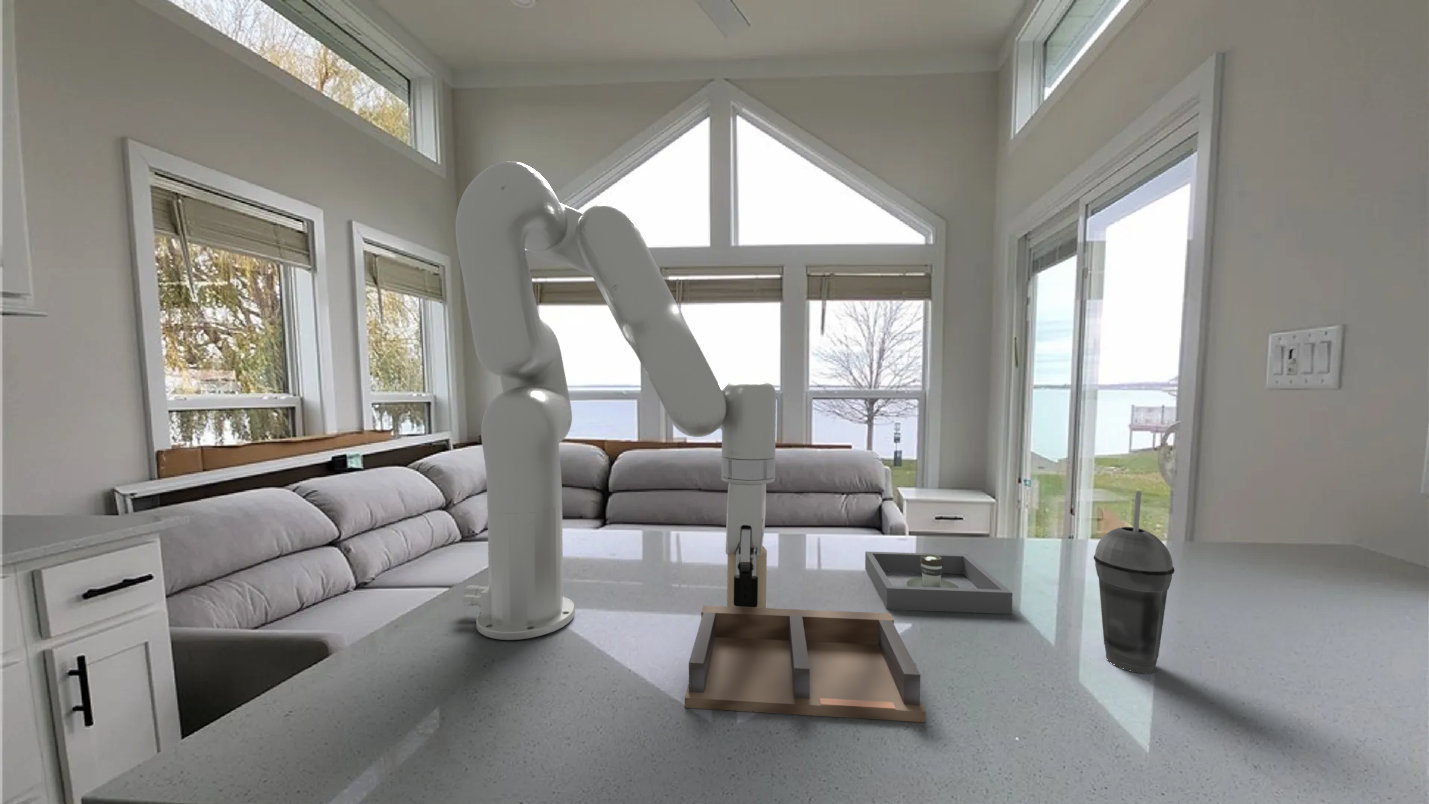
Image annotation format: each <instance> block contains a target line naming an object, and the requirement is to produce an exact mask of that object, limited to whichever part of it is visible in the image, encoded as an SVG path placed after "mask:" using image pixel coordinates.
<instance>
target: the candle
mask: <svg viewBox="0 0 1429 804" xmlns="http://www.w3.org/2000/svg"><path fill="white" fill-rule="evenodd" d="M753 547H754V544H753ZM739 554H741V549H739ZM750 554H754V550H750ZM767 554H768V550H767V548H766V547H765V546H764V545H762V551H761V555H759V556H758V557H757V558H756V577H758V603H757V607H749V608H767V564H768V563H767V562H768V561H767V558H768V557H767V556H768V555H767ZM756 556H757V554H756ZM750 562H752V559H750ZM726 573H727V574H726V575H727V576H726V577H727V580H726V581H727V582H726V583H727V585H726V607H738V606H735V605H734V576H736V550H735V553H734V554H731V555H730V556H728V555H727V572H726Z"/></svg>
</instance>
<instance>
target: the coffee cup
mask: <svg viewBox="0 0 1429 804" xmlns="http://www.w3.org/2000/svg"><path fill="white" fill-rule="evenodd" d="M933 554H934V553H932V554H923V555H921V557H920V563H921V572H920V573H921V576H922V577H914V578H911V579H908V580H907V582H906V586H911V587H938V588H960V587H959V586H958V585H957V584H954V583H953V582H950V581H948V580H945V579H941V578H942V574H943V573H942V566H944V564H943V560H942V558H941V557H940V556H937V555H933Z"/></svg>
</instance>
